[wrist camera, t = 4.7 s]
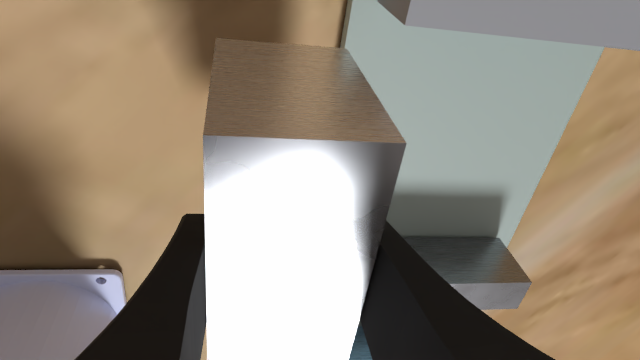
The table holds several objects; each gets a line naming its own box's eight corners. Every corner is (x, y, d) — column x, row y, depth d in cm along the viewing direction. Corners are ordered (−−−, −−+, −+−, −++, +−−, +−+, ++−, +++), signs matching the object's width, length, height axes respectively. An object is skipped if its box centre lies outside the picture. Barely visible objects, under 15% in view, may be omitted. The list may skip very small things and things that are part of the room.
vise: (289, 358, 31) (296, 420, 27) (358, -62, 17) (389, -46, 13) (447, 350, 33) (472, 406, 30) (623, -23, 19) (709, -1, 16)
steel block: (215, 241, 17) (207, 383, 13) (216, 37, 13) (202, 135, 8) (315, 240, 18) (344, 374, 13) (347, 48, 14) (406, 143, 9)
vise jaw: (310, 342, 29) (318, 394, 26) (331, 236, 24) (344, 285, 21) (452, 336, 31) (475, 383, 28) (499, 237, 26) (531, 282, 23)
